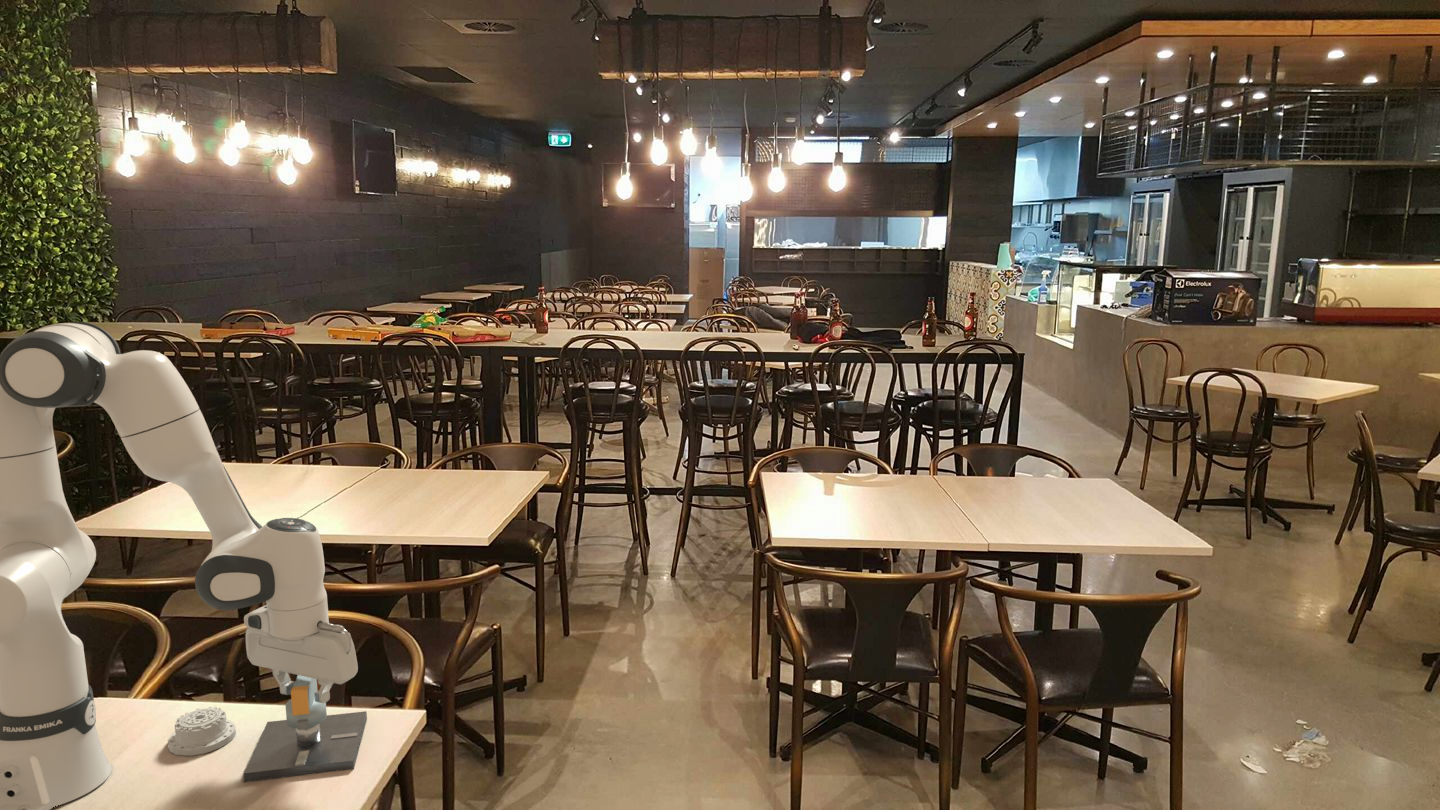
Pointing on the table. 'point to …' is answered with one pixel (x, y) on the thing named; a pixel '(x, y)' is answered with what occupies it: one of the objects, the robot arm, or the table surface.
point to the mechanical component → (201, 732)
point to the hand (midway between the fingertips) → (305, 697)
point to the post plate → (307, 748)
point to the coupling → (304, 705)
